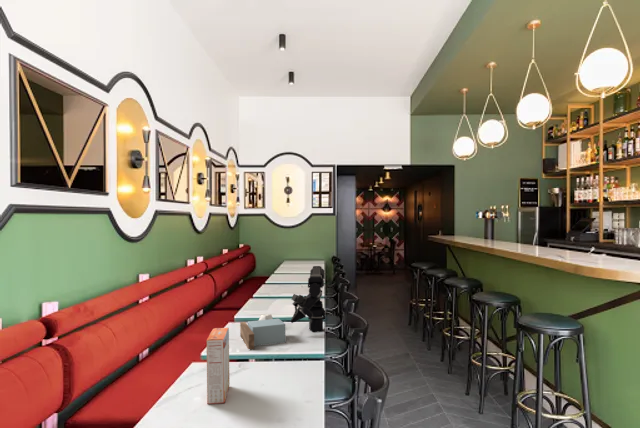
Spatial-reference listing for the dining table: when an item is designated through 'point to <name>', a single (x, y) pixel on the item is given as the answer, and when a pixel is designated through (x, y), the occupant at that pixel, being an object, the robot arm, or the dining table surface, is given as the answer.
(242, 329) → the walnut board
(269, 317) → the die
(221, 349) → the cracker box
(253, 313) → the dining table surface
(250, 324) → the slate block
